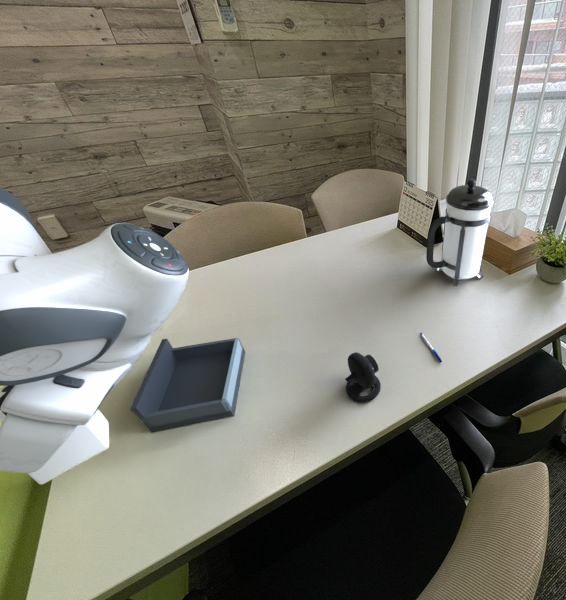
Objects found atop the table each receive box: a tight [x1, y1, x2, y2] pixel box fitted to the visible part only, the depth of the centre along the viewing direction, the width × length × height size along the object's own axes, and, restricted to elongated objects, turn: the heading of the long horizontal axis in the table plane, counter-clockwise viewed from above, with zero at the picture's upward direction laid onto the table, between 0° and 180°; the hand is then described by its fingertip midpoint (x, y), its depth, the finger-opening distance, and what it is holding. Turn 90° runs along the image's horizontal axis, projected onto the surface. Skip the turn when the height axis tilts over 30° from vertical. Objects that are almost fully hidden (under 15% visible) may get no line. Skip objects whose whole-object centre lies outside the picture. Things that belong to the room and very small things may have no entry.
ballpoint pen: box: [420, 332, 443, 363], centre depth 79 cm, size 10×1×1 cm, turn 26°
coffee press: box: [425, 178, 494, 287], centre depth 94 cm, size 17×16×30 cm
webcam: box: [345, 351, 382, 404], centre depth 66 cm, size 8×8×10 cm
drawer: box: [129, 337, 246, 434], centre depth 67 cm, size 15×18×8 cm
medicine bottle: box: [0, 385, 110, 486], centre depth 42 cm, size 7×7×12 cm
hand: (50, 413), depth 41 cm, fingers closed on medicine bottle, 7 cm apart
